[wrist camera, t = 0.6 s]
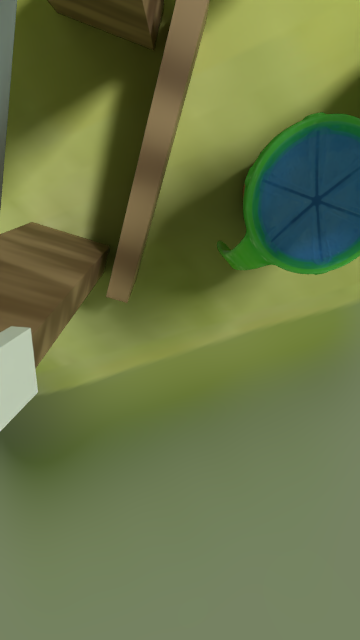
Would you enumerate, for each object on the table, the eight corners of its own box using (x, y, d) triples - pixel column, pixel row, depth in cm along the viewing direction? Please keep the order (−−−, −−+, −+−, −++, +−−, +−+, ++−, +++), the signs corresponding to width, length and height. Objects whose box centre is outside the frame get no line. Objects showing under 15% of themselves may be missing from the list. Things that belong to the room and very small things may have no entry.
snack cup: (332, 80, 28) (407, 39, 19) (378, 188, 32) (459, 198, 23) (183, 194, 32) (185, 205, 23) (239, 278, 36) (260, 318, 26)
